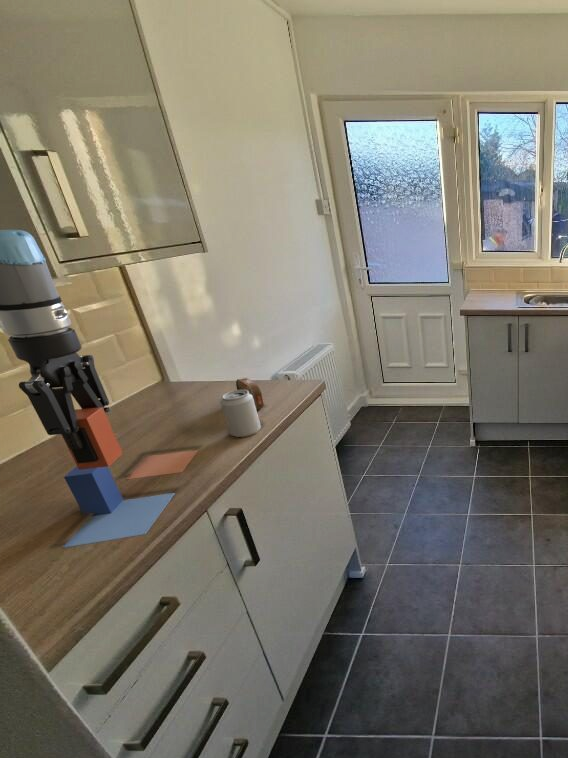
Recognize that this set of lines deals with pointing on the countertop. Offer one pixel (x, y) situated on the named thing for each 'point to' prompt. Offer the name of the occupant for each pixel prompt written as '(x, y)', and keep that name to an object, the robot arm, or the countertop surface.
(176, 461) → the terracotta mat
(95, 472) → the blue block
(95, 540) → the blue mat
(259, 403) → the brown curved piece
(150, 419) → the countertop surface
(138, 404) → the countertop surface
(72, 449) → the robot arm
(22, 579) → the countertop surface
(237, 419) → the can
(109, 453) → the terracotta block
